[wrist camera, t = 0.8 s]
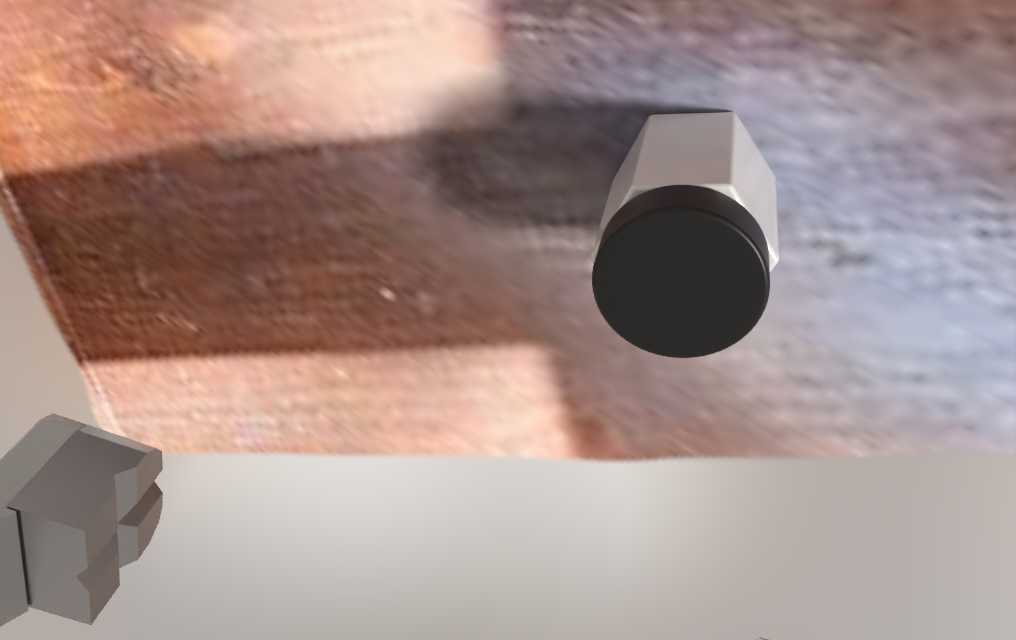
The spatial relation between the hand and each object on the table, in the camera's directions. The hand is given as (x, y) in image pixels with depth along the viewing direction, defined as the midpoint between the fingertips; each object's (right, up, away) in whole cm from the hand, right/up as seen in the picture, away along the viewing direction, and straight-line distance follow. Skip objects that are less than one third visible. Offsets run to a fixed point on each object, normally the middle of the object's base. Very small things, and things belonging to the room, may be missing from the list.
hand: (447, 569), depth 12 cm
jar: (+11, +11, +41) cm, 44 cm away
